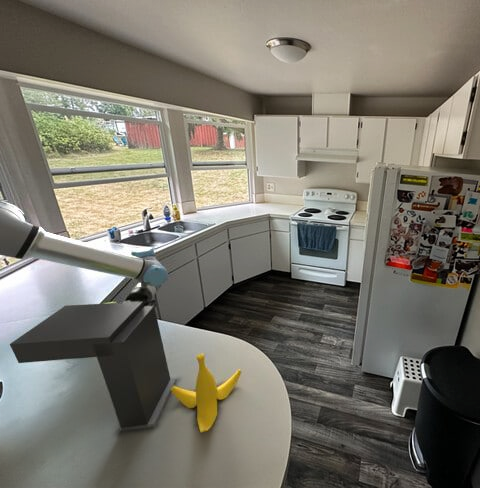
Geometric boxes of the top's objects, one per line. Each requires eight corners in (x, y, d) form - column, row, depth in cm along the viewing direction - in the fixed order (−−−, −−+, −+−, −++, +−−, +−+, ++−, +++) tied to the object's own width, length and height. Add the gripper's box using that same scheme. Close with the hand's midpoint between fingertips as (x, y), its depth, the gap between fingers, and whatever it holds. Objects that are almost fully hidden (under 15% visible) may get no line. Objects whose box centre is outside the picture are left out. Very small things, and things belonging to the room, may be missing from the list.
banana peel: (173, 394, 72) (162, 348, 67) (242, 376, 79) (237, 333, 73) (161, 455, 58) (146, 402, 52) (246, 427, 64) (241, 377, 59)
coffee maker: (54, 439, 60) (9, 344, 51) (95, 388, 73) (65, 305, 64) (154, 427, 64) (129, 335, 54) (176, 380, 77) (159, 300, 67)
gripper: (171, 301, 99) (151, 340, 79) (114, 307, 94) (77, 351, 73) (167, 284, 97) (146, 320, 76) (109, 290, 91) (69, 330, 71)
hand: (112, 335), depth 75 cm, fingers closed on soap dispenser, 6 cm apart
